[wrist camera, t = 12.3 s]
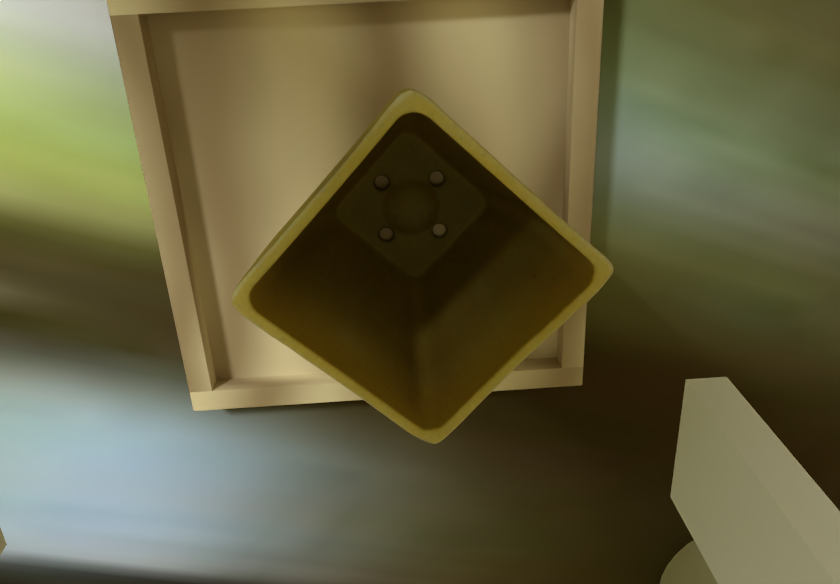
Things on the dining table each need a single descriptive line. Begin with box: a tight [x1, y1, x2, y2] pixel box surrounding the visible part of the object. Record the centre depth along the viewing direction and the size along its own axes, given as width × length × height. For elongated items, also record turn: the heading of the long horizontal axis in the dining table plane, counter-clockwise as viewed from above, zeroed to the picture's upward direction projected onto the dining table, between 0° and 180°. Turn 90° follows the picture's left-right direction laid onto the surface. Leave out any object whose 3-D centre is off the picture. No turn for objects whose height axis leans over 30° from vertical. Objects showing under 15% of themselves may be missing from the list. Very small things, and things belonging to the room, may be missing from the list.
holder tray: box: [107, 0, 604, 411], centre depth 30 cm, size 18×18×2 cm
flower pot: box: [231, 88, 614, 444], centre depth 26 cm, size 9×9×9 cm
